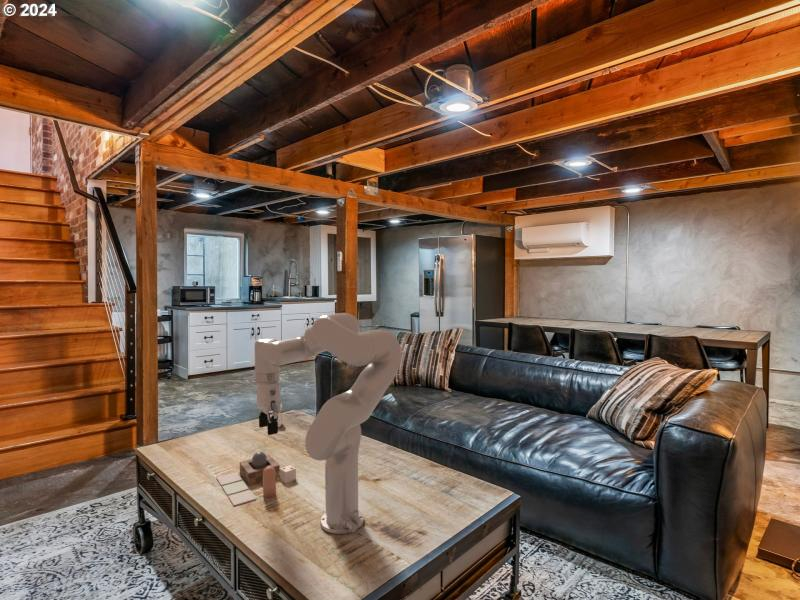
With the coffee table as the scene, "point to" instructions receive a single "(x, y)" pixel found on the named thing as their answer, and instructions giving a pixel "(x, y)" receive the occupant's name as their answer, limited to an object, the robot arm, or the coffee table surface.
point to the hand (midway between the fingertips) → (268, 429)
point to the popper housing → (257, 470)
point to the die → (287, 473)
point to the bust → (279, 418)
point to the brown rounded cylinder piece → (269, 482)
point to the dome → (259, 460)
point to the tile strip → (236, 489)
